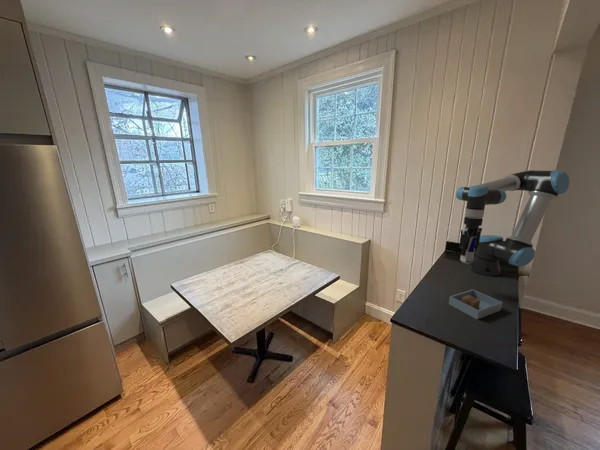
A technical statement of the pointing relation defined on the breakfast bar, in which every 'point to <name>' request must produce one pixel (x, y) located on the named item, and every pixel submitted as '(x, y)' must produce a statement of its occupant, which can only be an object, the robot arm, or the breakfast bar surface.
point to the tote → (485, 306)
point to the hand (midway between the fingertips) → (466, 260)
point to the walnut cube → (471, 301)
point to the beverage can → (471, 250)
